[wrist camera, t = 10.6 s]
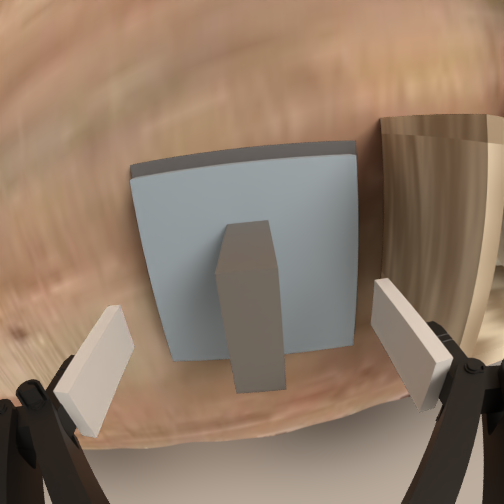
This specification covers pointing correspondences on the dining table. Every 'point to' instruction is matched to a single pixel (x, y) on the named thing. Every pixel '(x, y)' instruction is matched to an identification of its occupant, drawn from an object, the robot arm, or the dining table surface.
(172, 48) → the dining table surface
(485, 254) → the box
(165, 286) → the lid
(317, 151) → the mat
